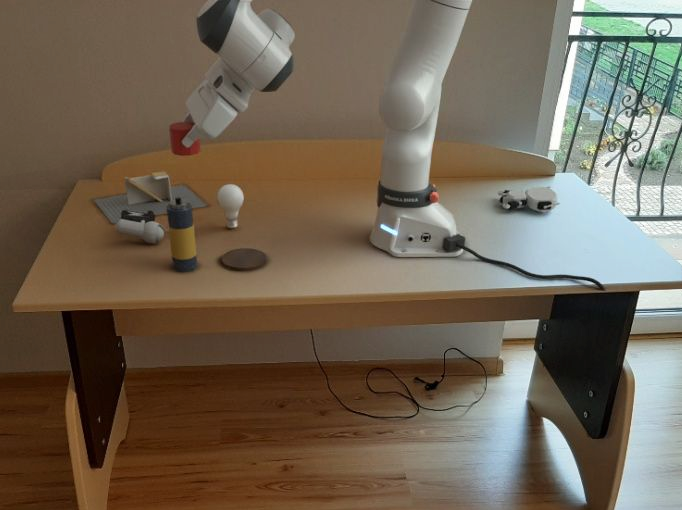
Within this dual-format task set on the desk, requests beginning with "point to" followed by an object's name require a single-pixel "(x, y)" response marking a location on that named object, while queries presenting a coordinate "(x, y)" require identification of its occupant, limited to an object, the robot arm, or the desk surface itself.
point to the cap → (177, 134)
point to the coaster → (244, 259)
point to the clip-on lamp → (140, 226)
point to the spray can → (182, 235)
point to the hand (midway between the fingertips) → (181, 139)
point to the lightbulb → (230, 203)
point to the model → (146, 196)
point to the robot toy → (530, 199)
